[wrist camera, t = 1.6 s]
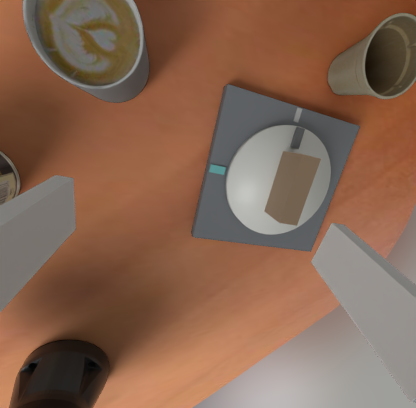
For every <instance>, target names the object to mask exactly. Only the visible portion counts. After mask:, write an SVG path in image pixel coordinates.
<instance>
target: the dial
mask: <svg viewBox="0 0 416 408" xmlns="http://www.w3.org/2000/svg"><path fill="white" fill-rule="evenodd" d="M330 177H331V165H330V159H329V156H328V153H327V150H326V148H325V146H324V145H323V143H322V142H321V141H320V139H319V138H318V137H317V136H316V135H314V134H313V133H312V132H310V131H309V130H307V129H305V128H302V127H299V126H294V125H279V126H272V127H268V128H265V129H263V130H260V131H258V132H257V133H255V134H253V135H252V136H251V137H249V138H248V139H247V140H246V141H245V142H244V143H243V144H242V145H241V146H240V147H239V148H238V150H237V151H236V153H235V154H234V156H233V158H232V160H231V162H230V164H229V167H228V170H227V175H226V183H225V189H226V197H227V201H228V204H229V206H230V208H231V210H232V212H233V213H234V215H235V216H236V217H237V218H238V219H239V221H240V222H241V223H242V224H244V225H245V226H246V227H248V228H249V229H251V230H253V231H255V232H258V233H262V234H270V235H273V234H281V233H285V232H289V231H291V230H293V229H296V228H297V227H299V226H301V225H302V224H304V223H305V222H306V221H307V220H309V219H310V218H311V217H312V216H313V215H314V213H315V212H316V211H317V210H318V208H319V207H320V206H321V204H322V202H323V200H324V198H325V196H326V194H327V191H328V188H329V184H330Z"/></svg>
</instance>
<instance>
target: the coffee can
mask: <svg viewBox="0 0 416 408" xmlns="http://www.w3.org/2000/svg"><path fill="white" fill-rule="evenodd" d="M19 190H20V177H19V174H18V171H17V169H16V168H15V166H14V164H13V163H12V161H11V160H10V159H9V158H8V157H7V156H6V155H5V154H4V153H3V152H1V151H0V205H2V204H4V203H6V202H8V201H9V200H11V199H13V198H15V197H17V196H18V194H19Z"/></svg>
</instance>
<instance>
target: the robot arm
mask: <svg viewBox="0 0 416 408" xmlns="http://www.w3.org/2000/svg"><path fill="white" fill-rule="evenodd" d="M75 229H76V219H75V198H74V178H69V177H64V176H58V175H55V176H53V177H51V178H49V179H48V180H46V181H44V182H42V183H40V184H38V185H37V186H35V187H33V188H31V189H29V190H28V191H26V192H24V193H22V194H20V195H19V196H17V197H15V198H13V199H11V200H9V201H8V202H6V203H4V204H2V205H0V312H1V311H2V310H3V309H4V308H5V307H6V306H7V304H8V303H9V302H10V301H11V300H12V299H13V298H14V297H15V296H16V295H17V293H18V292H19V291H20V290H21V289H22V288H23V287H24V286H25V285H26V283H27V282H28V281H29V280H30V279H31V278H32V277H33V276H34V275H35V274H36V272H37V271H38V270H39V269H40V268H41V267H42V266H43V265H44V264H45V263H46V261H47V260H48V259H49V258H50V257H51V256H52V255H53V254H54V253H55V252H56V250H57V249H58V248H59V247H60V246H61V245H62V244H63V243H64V242H65V240H66V239H67V238H68V237H69V236H70V235H71V234H72V233H73V232H74V231H75ZM311 263H312V264H313V266H314V267H315V269H316V270H317V271H318V273H319V274H320V276H321V277H322V278H323V280H324V281H325V283H326V284H327V285H328V287H329V288H330V290H331V291H332V292H333V294H334V295H335V297H336V298H337V299H338V301H339V302H340V304H341V305H342V306H343V308H344V309H345V311H346V312H347V313H348V315H349V316H350V318H351V319H352V320H353V322H354V323H355V325H356V326H357V327H358V329H359V330H360V332H361V333H362V334H363V336H364V337H365V339H366V340H367V341H368V343H369V344H370V346H371V347H372V348H373V350H374V351H375V353H376V354H377V355H378V357H379V358H380V359H381V361H382V362H383V364H384V365H385V367H386V368H387V369H388V371H389V372H390V374H391V375H392V376H393V378H394V379H395V381H396V382H397V383H398V385H399V386H400V388H401V389H402V390H403V392H404V393H405V395H406V396H407V397H408V399H409V400H410V402H416V285H415V284H414V283H413V282H412V281H410V280H409V279H408V278H407V277H406V276H404V275H403V274H402V273H401V272H400V271H399V270H397V269H396V268H395V267H394V266H392V265H391V264H390V263H389V262H388V261H387V260H385V259H384V258H383V257H382V256H381V255H380V254H378V253H377V252H376V251H375V250H374V249H372V248H371V247H370V246H369V245H368V244H366V243H365V242H364V241H363V240H362V239H360V238H359V237H358V236H357V235H356V234H355V233H353V232H352V231H351V230H350V229H349V228H347V227H346V226H345V225H342V224H336V223H331V225H330V227H329V229H328V231H327V233H326V235H325V237H324V238H323V240H322V242H321V244H320V246H319V248H318V250H317V252H316V254H315V256H314V257H313V259H312V261H311ZM108 372H109V361H108V358H107V356H106V355H105V353H104V352H103V351H102V350H101V349H99V348H98V347H96V346H94V345H92V344H90V343H87V342H83V341H77V340H63V341H56V342H52V343H49V344H46V345H44V346H42V347H40V348H38V349H37V350H35V351H34V352H32V353H31V354H30V355H29V356H28V358H27V359H26V360H25V362H24V364H23V365H22V367H21V369H20V370H19V372H18V375H17V377H16V380H15V384H14V389H13V393H12V397H11V401H10V406H9V408H93V407H94V405H95V403H96V401H97V399H98V397H99V395H100V394H101V392H102V390H103V388H104V386H105V384H106V381H107V376H108Z"/></svg>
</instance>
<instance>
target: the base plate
mask: <svg viewBox="0 0 416 408" xmlns="http://www.w3.org/2000/svg"><path fill="white" fill-rule="evenodd" d="M279 125H294V126H299V127H302V128H305V129H307V130H309V131H310V132H312V133H313V134H314V135H316V136H317V137H318V138H319V139H320V141H321V142H322V143H323V145H324V146H325V148H326V150H327V153H328V156H329V159H330V165H331V177H330V184H329V188H328V191H327V194H326V196H325V198H324V200H323V202H322V204H321V206H320V207H319V208H318V210H317V211H316V212H315V213H314V215H313V216H312V217H311V218H310V219H309V220H307V221H306V222H305V223H304V224H302V225H301V226H299V227H297V228H296V229H293V230H291V231H289V232H285V233H281V234H273V235H270V234H262V233H258V232H255V231H253V230H251V229H249V228H248V227H246V226H245V225H244V224H242V223H241V222H240V221H239V219H238V218H237V217H236V216H235V215H234V213H233V212H232V210H231V208H230V206H229V204H228V201H227V197H226V189H225V183H226V175H227V170H228V167H229V164H230V162H231V160H232V158H233V156H234V154H235V153H236V151H237V150H238V148H239V147H240V146H241V145H242V144H243V143H244V142H245V141H246V140H247V139H248V138H249V137H251V136H252V135H253V134H255V133H257V132H258V131H260V130H263V129H265V128H268V127H272V126H279ZM359 128H360V126H358V125H355V124H351V123H348V122H345V121H342V120H339V119H336V118H333V117H329V116H326V115H323V114H320V113H317V112H314V111H311V110H308V109H304V108H301V107H298V106H295V105H292V104H289V103H286V102H283V101H279V100H276V99H273V98H270V97H267V96H264V95H261V94H258V93H254V92H251V91H248V90H245V89H242V88H239V87H236V86H233V85H229V84H227V85H226V86H224V89H223V94H222V98H221V103H220V107H219V112H218V116H217V120H216V125H215V129H214V134H213V138H212V143H211V147H210V151H209V156H208V160H207V165H206V169H205V174H204V178H203V182H202V187H201V191H200V196H199V200H198V205H197V209H196V213H195V218H194V222H193V227H192V231H191V233H192V236H193V237H195V238H204V239H212V240H220V241H228V242H236V243H245V244H253V245H261V246H269V247H277V248H286V249H294V250H302V251H310V252H311V250H312V247H313V245H314V242H315V240H316V237H317V234H318V232H319V229H320V227H321V224H322V222H323V219H324V217H325V214H326V212H327V209H328V206H329V204H330V201H331V199H332V196H333V194H334V191H335V189H336V186H337V184H338V181H339V178H340V176H341V173H342V171H343V168H344V166H345V163H346V161H347V158H348V156H349V153H350V151H351V148H352V145H353V143H354V140H355V138H356V135H357V133H358V130H359Z"/></svg>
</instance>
